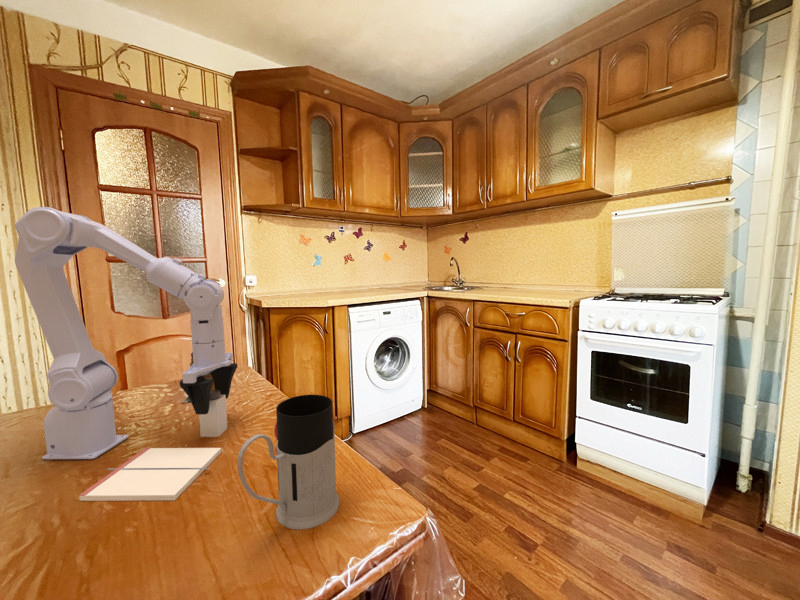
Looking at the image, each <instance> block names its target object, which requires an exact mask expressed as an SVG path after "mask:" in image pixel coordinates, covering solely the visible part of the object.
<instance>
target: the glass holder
mask: <svg viewBox="0 0 800 600" xmlns="http://www.w3.org/2000/svg"><path fill="white" fill-rule="evenodd" d="M333 407H334V406H333V401H332V399H331V398H330V397H328V396H325V395H322V394H302V395H301V394H300V395H296V396H293V397H290V398H286V399H284V400H283V401H281V402H279V403H278V404H277V406H276V408H275V409H276V412H275V413H276V422H277V435H278V440H277V441H276V455H275V449H274V443H273V441H272V439H271V438H270V437H269V436H268V435H266V434H263V433H259V434H254V435H253V436H250V438H248V439H247V440H246V441H244V443H243V445H241V448H240V450H239V452H238V455H237V471H238V472H237V473H238V476H239V479H240V482H241V484H242V487H243V488H244V489H245V491H246V492H247V493H248V494H249V495H250V496H251V497H252V498H254V499H256V500H259V501H263V502H266V503H269V504H275V505H277V506H276V507H277V508H276V510H275V511H276V512H275V516H276V520H277V521H278V522H279V524H281V525H282V526H283V527H285V528H287V529H291V530H296V531H297V530H309V529H313V528H316V527H319V526H321V525H323V524H325V523H326V522H327V521H329V520H331V519H332V518H333V517H334V516H335V514H336V513H337V512H338V509H339V508H340V502H341V501H340V496H339V494H338V492H337V481H336V479H337V477H336V475H337V474H336V442H335V438H336V437H335V421H334V415H333V414H334V413H333V409H334V408H333ZM259 439H264V440H265V441H266V442H267V446H268V454H269V457H270V458H271V460H272V459H273V460H274V461H277V463H276V466H277V483H278V485H277V486H278V499H274V498H271V497H270V498H269V497H265V496H262V495H259V494H257V493H256V492H255V491H253V489H252V488H251V487H250V485H249V484H248V483H247V482H248V481H247V479H246V477H245V473H244V472H245V471H244V465H243V464H244V456H245V453H246V450H247V449H248V448H249V446H250V445H251V444H252V443H253V442H255V441H256V440H259Z"/></svg>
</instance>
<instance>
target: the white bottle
mask: <svg viewBox="0 0 800 600" xmlns="http://www.w3.org/2000/svg"><path fill="white" fill-rule="evenodd" d="M227 413H228V411H227V399H226V395H220V390H211V391H210V402H209V412H208V413H207V414H198V419H199V432H200V434H199V435H200V438H205V437H206V438H217V437H218V438H219V437H220V436H221V435H222V434H223V433H224V432H225V431H226V430H228V415H227Z"/></svg>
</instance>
